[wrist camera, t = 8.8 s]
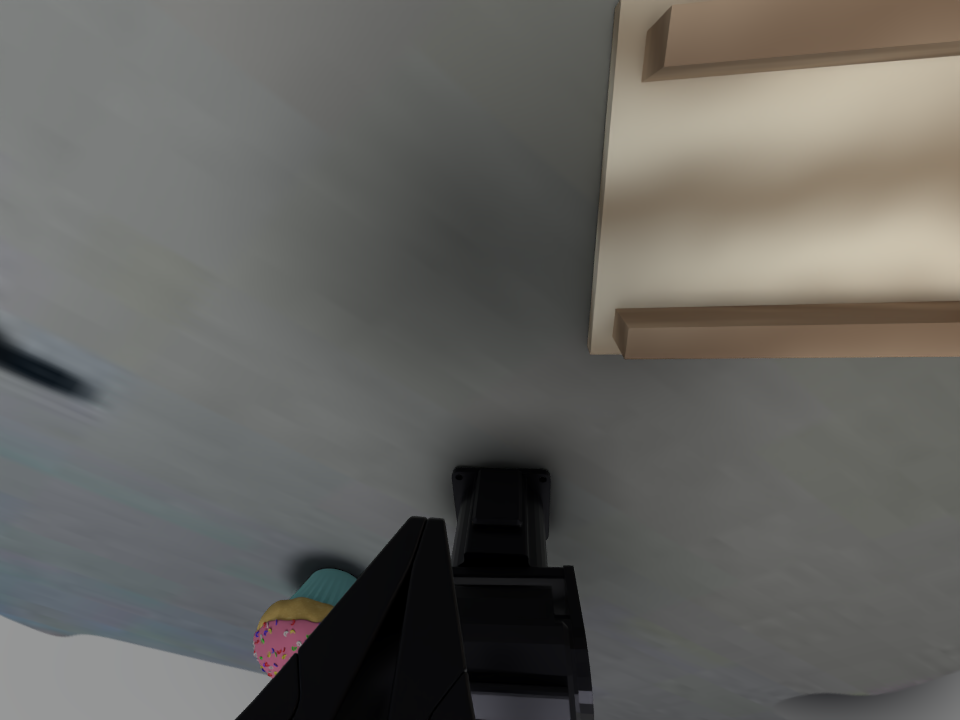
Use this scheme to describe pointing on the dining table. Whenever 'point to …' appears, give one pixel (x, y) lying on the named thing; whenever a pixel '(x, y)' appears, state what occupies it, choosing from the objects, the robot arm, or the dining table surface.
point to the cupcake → (297, 618)
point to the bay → (780, 181)
